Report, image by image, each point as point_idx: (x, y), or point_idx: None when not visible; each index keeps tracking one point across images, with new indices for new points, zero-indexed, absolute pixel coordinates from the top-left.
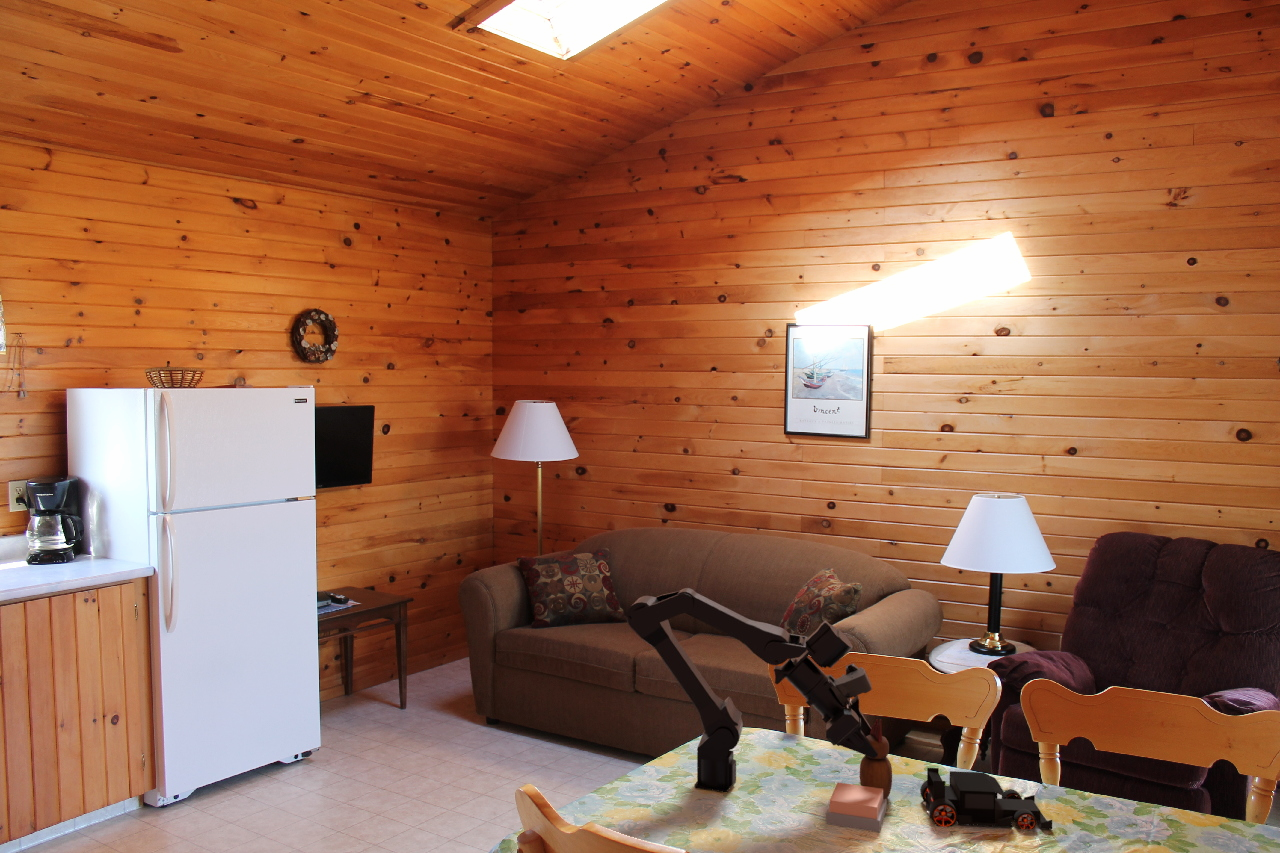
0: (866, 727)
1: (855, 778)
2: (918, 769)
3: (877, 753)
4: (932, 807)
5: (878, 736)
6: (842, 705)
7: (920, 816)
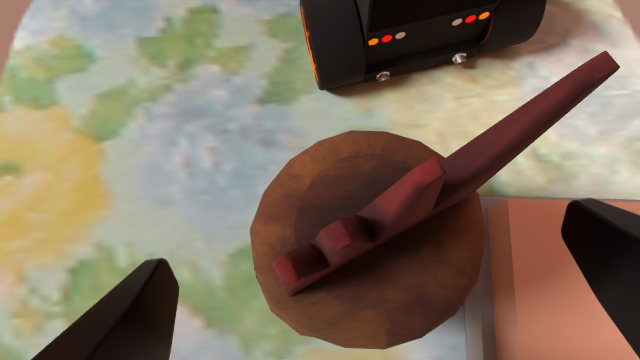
0: (120, 355)
1: (188, 354)
2: (52, 126)
3: (590, 199)
4: (530, 16)
5: (477, 185)
6: None
7: (458, 91)
